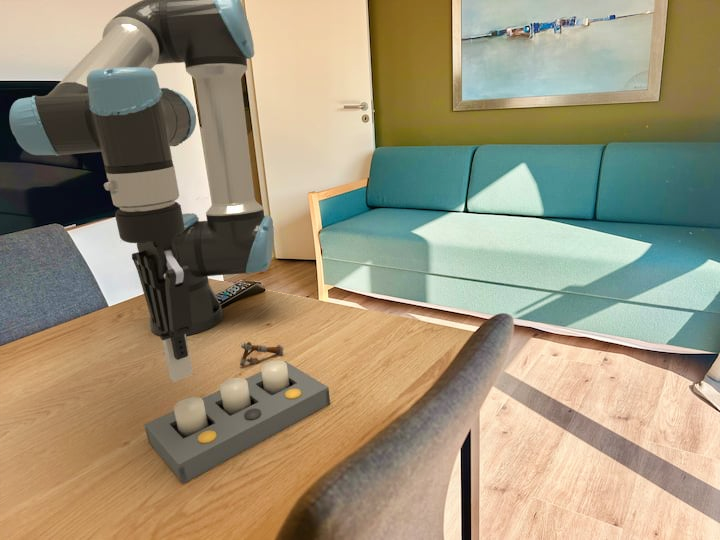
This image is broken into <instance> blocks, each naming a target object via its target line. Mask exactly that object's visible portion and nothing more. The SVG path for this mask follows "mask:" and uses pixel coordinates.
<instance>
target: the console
mask: <svg viewBox="0 0 720 540" xmlns="http://www.w3.org/2000/svg"><path fill="white" fill-rule="evenodd" d="M283 361H284V360H283ZM284 362H285V363H286V364H287V370H288V378H289V383H291V384H292V385H289V386H290V387H288V388H286V389H284V390H282V391H280V392H278V393H276V394H274V395H270V394H268V393H267V392H266V391H264V386H263V379H262V372H261V371H260V372H258V373H255V374H252V375H251V376H249V377H247V378H245V379H246V380H247V383H248V389H249V395H250V400H252V401H254V402H255V403H254V404H251V406H249V407H247V408H245V409H243V410H241V411H239V412H237V413H235V414H233V415H229V414H227V413H226V412H225V411H224V408H223V402H222V397H221V391H220V389H219V390H217V391H215V392H213V393H211V394H209V395H207V396H204V397H201V399H202V400H203V401H204V407H205V412H206V417H207V420H209V421H210V422H211V423H212V424H211V425H208V427H206V428H204V429H202V430H200V431H198V432H196V433H194V434H192V435H190V436H188V437H184V438H183V436H181V435H180V434H179V431H178V426H177V422H176V417H175V412H174V410H172V411H171V412H168V413H166V414H164V415H162V416H160V417H157V418H154V419H152V420H151V421H148V422H146V423H144V429H145V432H146V437H147V440H148V443H149V444H150V446H151V447H152V448H153V449H154V450H155V451H156V453H157V454H158V455H159V456H160V458H161V459H162V460H163V461H164V462H165V464H166V466H168V467H169V468H170V469H171V471H172V472H173V473H174V475H175V476H176V477H177V478H178V479H179V481H180V482H181V483H182V484H183V485H184V484H185V483H187V482H189V481H191V480H193V479H194V478H196V477H199V476H201V475H202V474H204V473H205V472H208V471H210V470H211V469H214V468H215V467H217V466H219V465H221V464H222V463H224V462H226V461H227V460H228V461H229V460H230V459H232V458H233V457H235V456H237V455H239V454H241V453H243V452H245V451H247V450H248V449H250V448H251V447H254V446H255V445H257V444H258V443H261V442H263V441H264V440H266V439H268V438H270V437H272V436H274V435H276V434H277V433H279V432H281V431H283V430H284V429H287V428H288V427H290V426H292V425H294V424H296V423H297V422H300V421H301V420H303V419H305V418H307V417H309V416H311V415H313V414H314V413H316V412H318V411H319V410H322V409H323V408H325V407H327V406H329V405H331V400H330V399H331V398H330V390H329V389H330V388H329V386H328V385H326V384H325V383H322V382H321V381H319V380H317V379H316V378H314V377H312V376H311V375H309V374H307V373H306V372H304V371H303V370H301V369H299V368H298V367H296V366H294V365H292V364H291V363H289V362H287V361H284Z"/></svg>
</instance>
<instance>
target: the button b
mask: <svg viewBox="0 0 720 540" xmlns="http://www.w3.org/2000/svg"><path fill="white" fill-rule="evenodd" d="M219 390H220V391H221V397H222V402H223V408H224V409H223V410H224V411H225V412H226V413H227V414H228V415H229V416H231V415H233V414H235V413H237V412H239V411H241V410H243V409H245V408H247V407H249V406H251V405H252V403H251V402H252V401H251V398H250V395H249V389H248V383H247V380H246V378H243V377H233V378H228V379H226V380H225V381H223V382H222V383H221V384H220V385H219Z"/></svg>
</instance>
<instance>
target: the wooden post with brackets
mask: <svg viewBox="0 0 720 540" xmlns="http://www.w3.org/2000/svg"><path fill="white" fill-rule="evenodd" d="M240 347H241V349H242V350H243V351H244V352H243V354H242V357H241V360H240V363H239V365H240V367H245V364H246V363H248V364H250V365H252V364H253V365H257V364H258V363H260V360H259V359H258V358H257V357H254V358H253V357H252V356H250V358H247V357H249V355H250V354H251V353H253V352H254V351H256V352H258V353H265V354H266V353H269V354H275V355H276V356H278V357H282V355H283V351H284V346H282V345H281V344H277V346H270V347H269V346H266V345H264V346H263V345H258V344H257V345H254V344H252V343H251V342H250V341H247V342H246V343H245V342H244V343H243V344H241V345H240Z"/></svg>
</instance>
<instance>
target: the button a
mask: <svg viewBox="0 0 720 540" xmlns="http://www.w3.org/2000/svg"><path fill="white" fill-rule="evenodd" d="M173 411H174V412H175V417H176V422H177V426H178V431H177V432H178V434H179V435H180V436H181V437H182V438H183V437H184V438H186V437H188V436H190V435H192V434H194V433H196V432H198V431H200V430H202V429H204V428H206V427H208V426H209V423H208V422H209V421H208V418H207V417H206V412H205V407H204V401H203V400H202V397H198V396H191V397H187V398H186V397H185V398H184V399H180V401H178V402H177V403H176V404H174V406H173Z"/></svg>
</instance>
